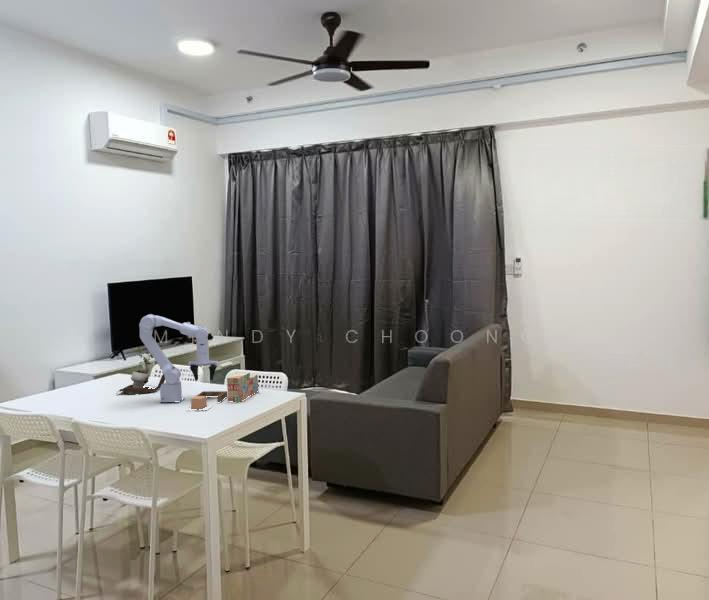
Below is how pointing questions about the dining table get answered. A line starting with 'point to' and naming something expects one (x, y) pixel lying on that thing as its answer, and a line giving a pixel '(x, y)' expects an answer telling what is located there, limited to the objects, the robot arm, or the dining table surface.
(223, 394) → the cubby
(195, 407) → the cube
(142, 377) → the potted plant
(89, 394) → the dining table surface
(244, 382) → the stack of blocks
